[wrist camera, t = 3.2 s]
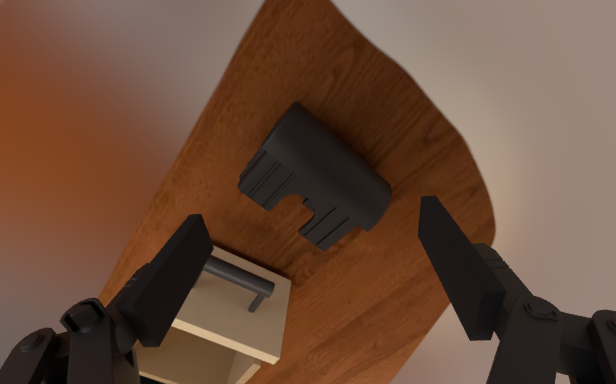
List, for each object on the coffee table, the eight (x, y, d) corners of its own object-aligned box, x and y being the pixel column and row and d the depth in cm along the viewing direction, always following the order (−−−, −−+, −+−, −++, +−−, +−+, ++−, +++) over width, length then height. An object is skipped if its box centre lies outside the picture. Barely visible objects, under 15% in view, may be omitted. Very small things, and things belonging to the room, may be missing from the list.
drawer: (193, 202, 26) (138, 266, 19) (309, 257, 29) (303, 334, 21) (156, 292, 33) (104, 366, 26) (252, 330, 36) (231, 408, 28)
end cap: (383, 168, 24) (401, 207, 18) (330, 215, 27) (331, 262, 21) (300, 92, 22) (290, 109, 16) (251, 153, 24) (226, 187, 18)
